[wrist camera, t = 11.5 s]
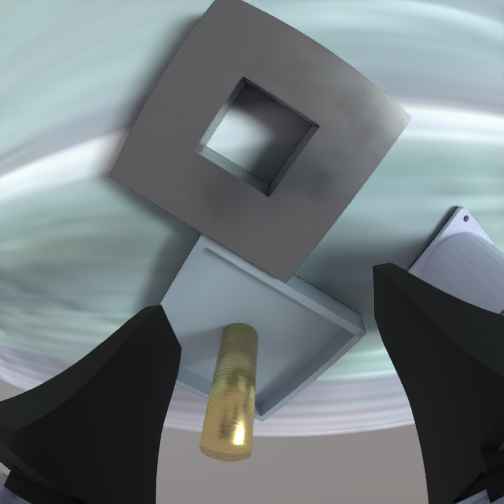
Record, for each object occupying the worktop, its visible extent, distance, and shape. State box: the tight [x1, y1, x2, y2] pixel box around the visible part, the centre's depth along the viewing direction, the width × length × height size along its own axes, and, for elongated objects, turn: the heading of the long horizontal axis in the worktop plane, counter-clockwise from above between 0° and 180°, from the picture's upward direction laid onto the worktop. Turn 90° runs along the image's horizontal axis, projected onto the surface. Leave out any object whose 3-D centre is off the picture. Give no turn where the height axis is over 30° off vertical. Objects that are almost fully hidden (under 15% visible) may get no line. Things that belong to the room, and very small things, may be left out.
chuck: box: [110, 0, 412, 284], centre depth 16 cm, size 12×12×3 cm
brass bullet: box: [200, 323, 259, 461], centre depth 18 cm, size 3×3×10 cm
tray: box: [159, 233, 367, 421], centre depth 22 cm, size 13×13×2 cm
